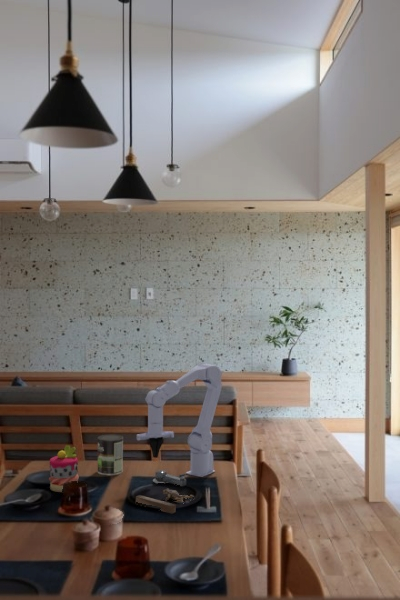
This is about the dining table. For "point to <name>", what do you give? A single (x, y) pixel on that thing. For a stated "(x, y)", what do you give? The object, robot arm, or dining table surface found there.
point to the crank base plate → (159, 481)
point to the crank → (170, 478)
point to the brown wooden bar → (157, 504)
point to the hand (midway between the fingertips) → (155, 457)
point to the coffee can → (110, 454)
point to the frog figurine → (175, 495)
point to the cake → (63, 468)
